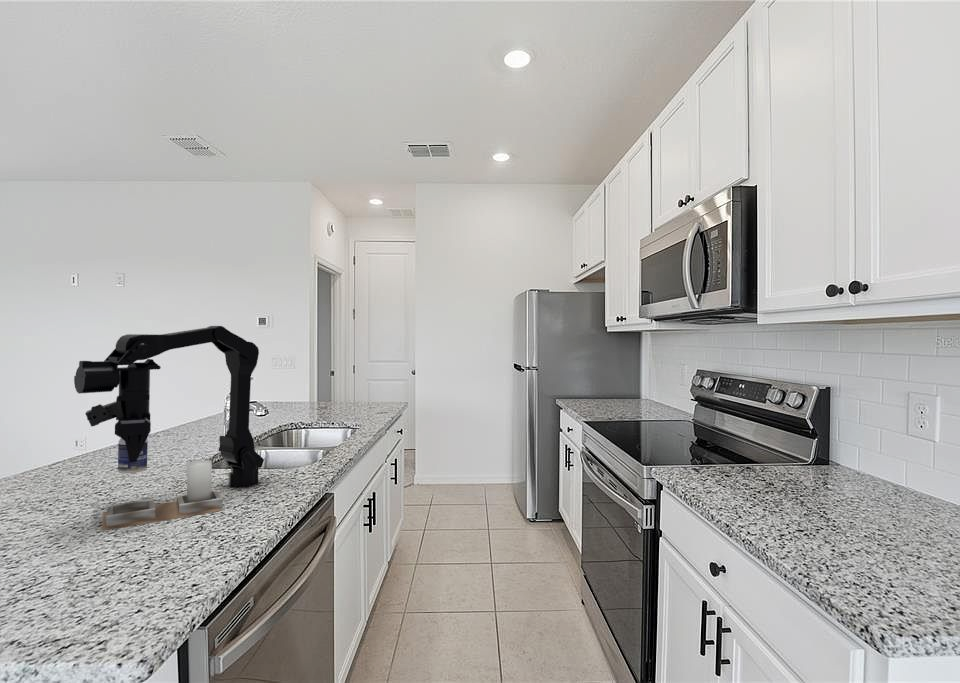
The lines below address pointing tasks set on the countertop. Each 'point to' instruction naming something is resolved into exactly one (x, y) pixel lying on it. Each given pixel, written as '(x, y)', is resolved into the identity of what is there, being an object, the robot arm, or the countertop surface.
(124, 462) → the pill bottle
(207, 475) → the pin
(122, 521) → the board
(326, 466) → the countertop surface
